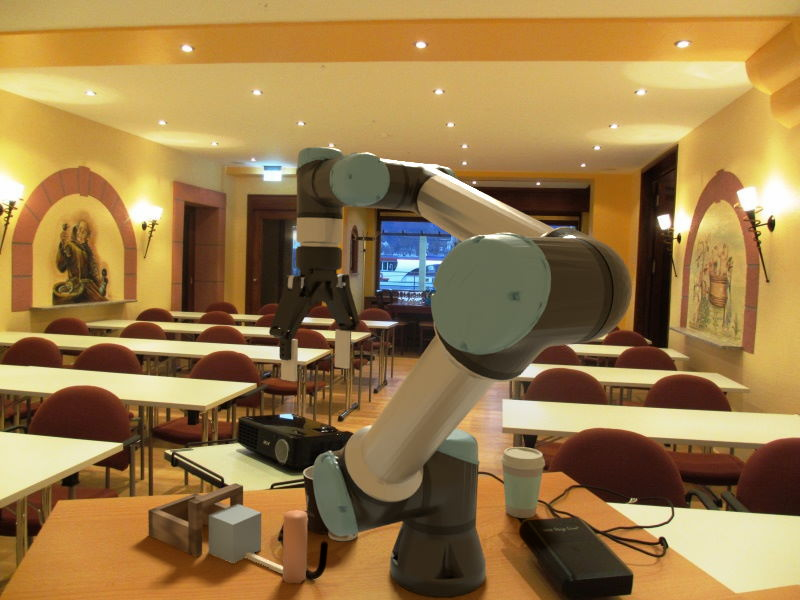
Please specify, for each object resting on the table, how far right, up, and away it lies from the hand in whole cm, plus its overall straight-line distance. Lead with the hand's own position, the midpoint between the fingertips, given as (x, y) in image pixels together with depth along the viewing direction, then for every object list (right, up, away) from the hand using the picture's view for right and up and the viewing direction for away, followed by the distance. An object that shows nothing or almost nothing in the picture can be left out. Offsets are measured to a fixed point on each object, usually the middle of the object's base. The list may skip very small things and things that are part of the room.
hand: (317, 373), depth 105 cm
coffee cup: (+38, -30, +20) cm, 52 cm away
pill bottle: (+4, -30, +8) cm, 31 cm away
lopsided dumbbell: (-9, -30, -3) cm, 32 cm away
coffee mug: (+1, -29, +12) cm, 31 cm away
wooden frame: (-22, -29, +6) cm, 37 cm away
